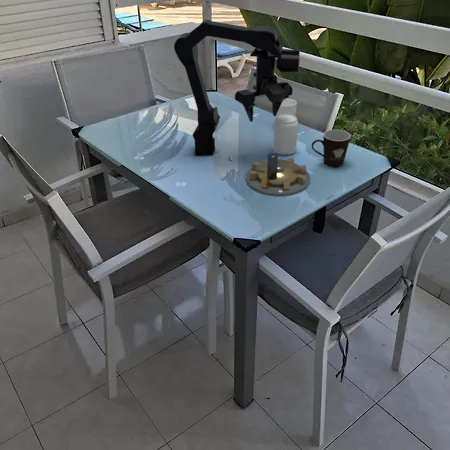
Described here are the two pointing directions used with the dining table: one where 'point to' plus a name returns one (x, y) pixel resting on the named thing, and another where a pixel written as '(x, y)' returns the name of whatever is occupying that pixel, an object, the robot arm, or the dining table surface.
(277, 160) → the sprocket
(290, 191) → the sprocket base
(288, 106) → the white translucent cylinder
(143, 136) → the dining table surface
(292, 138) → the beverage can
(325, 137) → the coffee mug
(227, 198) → the dining table surface
